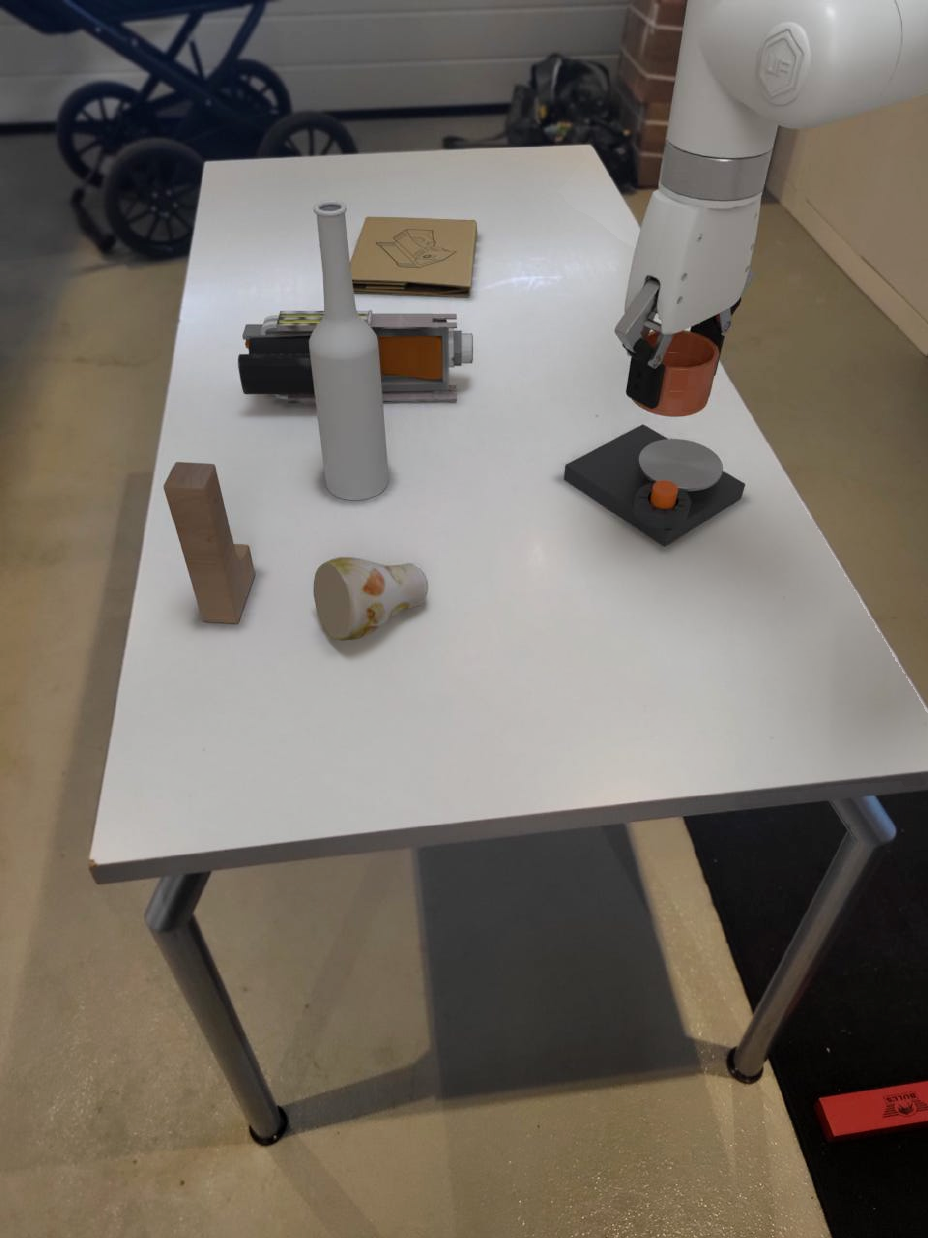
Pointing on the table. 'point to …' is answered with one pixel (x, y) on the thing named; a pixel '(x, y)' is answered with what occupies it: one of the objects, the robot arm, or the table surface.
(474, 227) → the box
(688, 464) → the brushed metal disc
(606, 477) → the scale
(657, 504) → the button
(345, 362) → the bottle
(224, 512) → the wooden block
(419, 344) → the mechanical component
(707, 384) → the cup
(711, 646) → the table surface
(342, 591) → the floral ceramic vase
